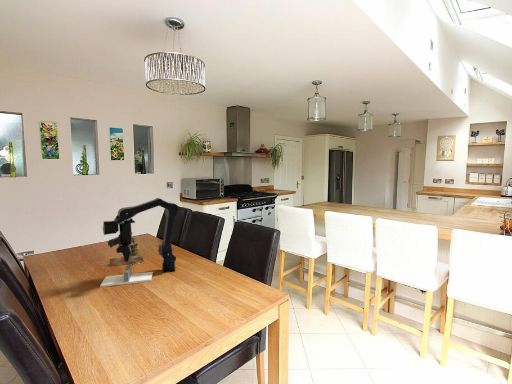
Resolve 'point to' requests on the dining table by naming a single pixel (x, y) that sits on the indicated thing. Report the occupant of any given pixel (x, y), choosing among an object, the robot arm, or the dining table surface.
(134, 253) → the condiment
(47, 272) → the dining table surface
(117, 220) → the robot arm
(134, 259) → the walnut bar
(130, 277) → the balance stand
